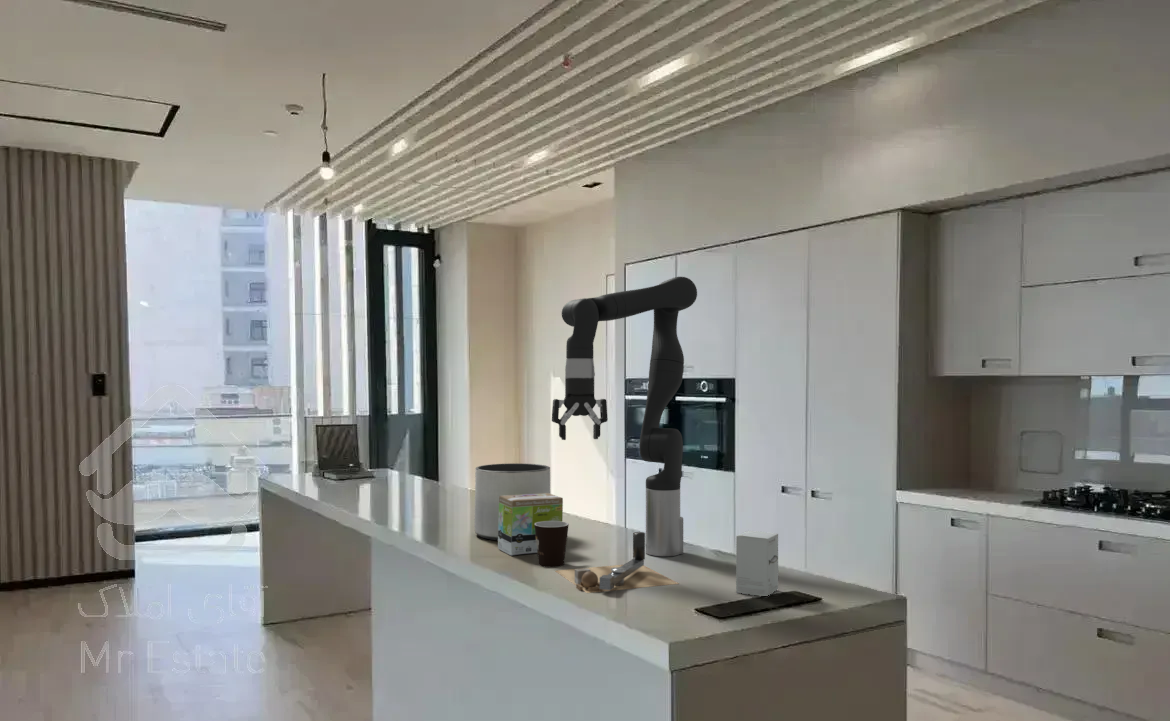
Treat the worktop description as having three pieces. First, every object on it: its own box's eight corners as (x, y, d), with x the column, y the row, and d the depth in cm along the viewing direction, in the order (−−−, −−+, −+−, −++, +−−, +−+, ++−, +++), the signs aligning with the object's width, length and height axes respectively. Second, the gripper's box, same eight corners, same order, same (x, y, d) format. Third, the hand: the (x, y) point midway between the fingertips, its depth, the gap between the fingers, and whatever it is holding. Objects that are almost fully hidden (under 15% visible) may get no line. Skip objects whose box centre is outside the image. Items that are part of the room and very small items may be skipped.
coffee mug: (564, 568, 198) (564, 527, 199) (530, 567, 200) (530, 526, 200) (574, 558, 210) (574, 519, 210) (542, 556, 212) (542, 518, 212)
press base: (639, 568, 199) (639, 550, 199) (679, 589, 180) (679, 569, 180) (551, 576, 191) (551, 558, 191) (583, 598, 172) (583, 579, 172)
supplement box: (768, 598, 173) (767, 538, 173) (735, 593, 177) (734, 534, 177) (779, 590, 179) (779, 532, 179) (747, 585, 183) (747, 529, 183)
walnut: (594, 585, 178) (594, 568, 178) (600, 589, 175) (600, 572, 175) (579, 586, 177) (579, 570, 177) (585, 590, 173) (585, 574, 173)
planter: (509, 525, 257) (509, 461, 257) (565, 533, 244) (566, 466, 244) (458, 536, 239) (458, 468, 239) (516, 545, 225) (517, 473, 226)
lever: (611, 590, 171) (612, 552, 171) (597, 588, 172) (597, 551, 172) (647, 566, 192) (647, 532, 193) (634, 564, 194) (634, 531, 194)
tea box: (511, 557, 212) (511, 500, 212) (497, 549, 220) (497, 495, 221) (563, 551, 219) (563, 496, 219) (547, 544, 227) (547, 491, 228)
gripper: (602, 376, 214) (602, 437, 214) (549, 376, 211) (549, 438, 211) (610, 376, 207) (610, 440, 207) (555, 376, 204) (555, 441, 203)
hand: (579, 439), depth 209 cm, fingers open, 8 cm apart
